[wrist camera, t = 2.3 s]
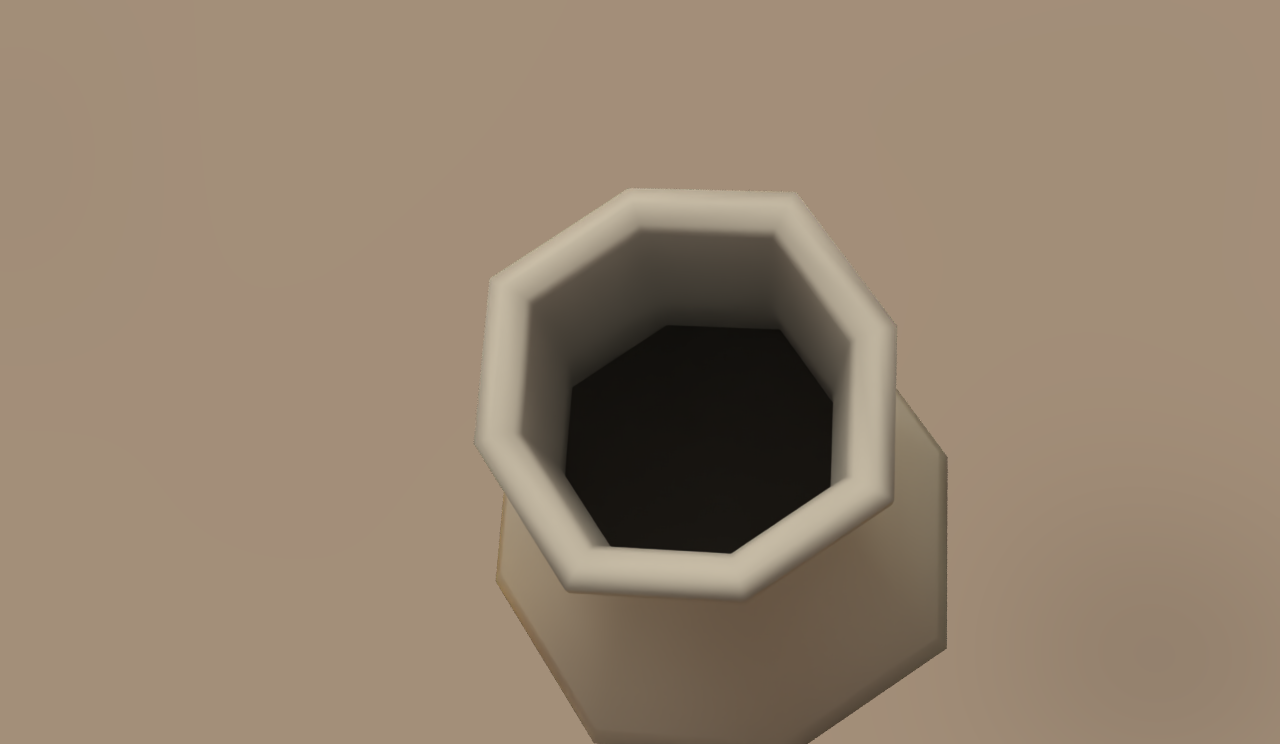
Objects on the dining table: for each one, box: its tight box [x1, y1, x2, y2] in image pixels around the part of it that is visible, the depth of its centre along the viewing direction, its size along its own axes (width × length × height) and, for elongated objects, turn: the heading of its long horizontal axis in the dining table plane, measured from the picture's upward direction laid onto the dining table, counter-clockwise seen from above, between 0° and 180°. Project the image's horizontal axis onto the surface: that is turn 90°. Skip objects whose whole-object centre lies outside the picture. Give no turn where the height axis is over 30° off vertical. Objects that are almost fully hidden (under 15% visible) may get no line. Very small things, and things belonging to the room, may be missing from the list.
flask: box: [474, 188, 947, 744], centre depth 13 cm, size 7×7×10 cm
